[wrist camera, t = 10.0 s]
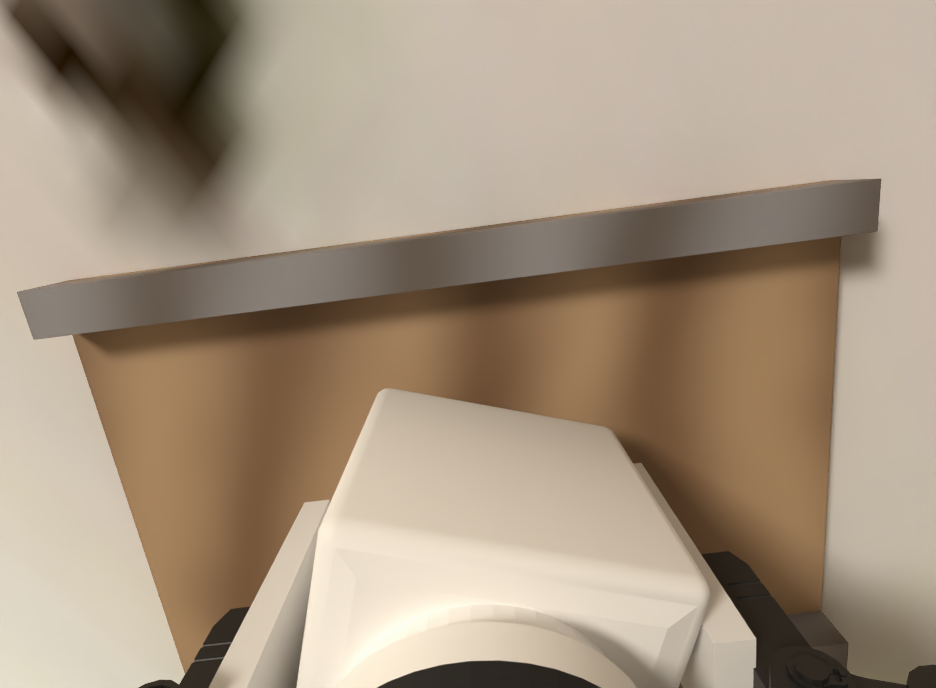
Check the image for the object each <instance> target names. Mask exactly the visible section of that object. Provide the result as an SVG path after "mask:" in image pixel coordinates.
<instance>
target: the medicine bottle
mask: <svg viewBox="0 0 936 688" xmlns="http://www.w3.org/2000/svg"><path fill="white" fill-rule="evenodd" d="M710 601H711V591H710V586H709V584H708V582H707V581H706V579H705V577H704V576H703V574H702V573H701V571H700V569H699V568H698V566H697V565H696V563H695V561H694V560H693V558H692V557H691V555H690V553H689V552H688V550H687V549H686V547H685V545H684V544H683V542H682V541H681V539H680V537H679V536H678V534H677V533H676V531H675V529H674V528H673V526H672V525H671V523H670V522H669V520H668V518H667V517H666V515H665V514H664V512H663V510H662V509H661V507H660V506H659V504H658V502H657V501H656V499H655V498H654V496H653V494H652V493H651V491H650V490H649V488H648V486H647V485H646V483H645V482H644V480H643V478H642V477H641V475H640V474H639V472H638V470H637V469H636V467H635V466H634V464H633V463H632V461H631V459H630V458H629V456H628V455H627V453H626V451H625V450H624V448H623V447H622V445H621V443H620V442H619V440H618V439H617V437H616V435H615V434H614V432H613V431H612V430H611V429H609V428H607V427H604V426H599V425H593V424H588V423H582V422H577V421H571V420H566V419H560V418H554V417H549V416H543V415H538V414H532V413H527V412H521V411H515V410H510V409H504V408H499V407H493V406H488V405H482V404H476V403H471V402H465V401H460V400H454V399H448V398H443V397H437V396H432V395H426V394H421V393H415V392H409V391H404V390H398V389H393V388H386V389H383V390H382V391H380V392H379V393H378V394H377V396H376V398H375V401H374V403H373V405H372V408H371V410H370V412H369V414H368V417H367V419H366V421H365V424H364V426H363V428H362V431H361V433H360V435H359V438H358V440H357V442H356V445H355V447H354V449H353V451H352V454H351V456H350V458H349V461H348V463H347V465H346V468H345V470H344V472H343V475H342V477H341V479H340V481H339V484H338V486H337V488H336V491H335V493H334V495H333V498H332V500H331V502H330V505H329V507H328V509H327V511H326V514H325V516H324V518H323V521H322V523H321V525H320V528H319V530H318V537H317V544H316V551H315V558H314V565H313V572H312V580H311V587H310V594H309V601H308V608H307V615H306V622H305V630H304V637H303V644H302V651H301V658H300V665H299V673H298V680H297V687H296V688H679V685H680V682H681V680H682V677H683V674H684V671H685V669H686V666H687V663H688V661H689V658H690V655H691V652H692V650H693V647H694V644H695V642H696V639H697V636H698V633H699V631H700V628H701V625H702V623H703V620H704V617H705V615H706V612H707V609H708V606H709V604H710Z"/></svg>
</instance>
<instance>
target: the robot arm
mask: <svg viewBox="0 0 936 688" xmlns="http://www.w3.org/2000/svg"><path fill="white" fill-rule="evenodd" d="M634 466H635V467H636V469H637V470H638V472H639V474H640V475H641V477H642V478H643V480H644V482H645V483H646V485H647V486H648V488H649V490H650V491H651V493H652V494H653V496H654V498H655V499H656V501H657V502H658V504H659V506H660V507H661V509H662V510H663V512H664V514H665V515H666V517H667V518H668V520H669V522H670V523H671V525H672V526H673V528H674V529H675V531H676V533H677V534H678V536H679V537H680V539H681V541H682V542H683V544H684V545H685V547H686V549H687V550H688V552H689V553H690V555H691V557H692V558H693V560H694V561H695V563H696V565H697V566H698V568H699V569H700V571H701V573H702V574H703V576H704V577H705V579H706V581H707V582H708V584H709V586H710V591H711V601H710V604H709V606H708V609H707V612H706V615H705V617H704V620H703V623H702V625H701V628H700V631H699V633H698V636H697V639H696V642H695V644H694V647H693V650H692V652H691V655H690V658H689V661H688V663H687V666H686V669H685V671H684V674H683V677H682V680H681V685H682V687H683V688H936V665H926V666H918V667H917V668H915V669H914V670H912V671H911V672H909V676H908V680H907V685H904V684H897V683H891V682H885V681H879V680H873V679H867V678H863V677H859V676H855V675H852V674H850V672H849V671H848V670H847V669H846V668H845V667H844V666H843V665H842V664H841V663H840V662H839V661H837V660H836V659H834V658H832V657H831V656H829V655H827V654H826V653H824V652H822V651H819V650H816V649H813V648H812V647H811V646H810V645H809V644H808V642H807V641H806V640H805V638H804V637H803V636H802V634H801V633H800V632H799V631H798V629H797V628H796V627H795V625H794V624H793V623H792V621H791V620H790V619H789V617H788V616H787V615H786V613H785V612H784V611H783V610H782V608H781V607H780V606H779V604H778V603H777V602H776V600H775V599H774V598H773V597H771V595H770V593H769V591H768V590H767V589H766V587H765V586H764V585H763V584H761V582H760V579H759V578H758V577H757V575H756V574H755V573H754V572H753V570H752V569H751V568H750V566H749V565H748V564H747V563H745V562H744V561H743V560H741V559H740V558H738V557H737V556H735V555H734V554H732V553H731V552H729V551H724V552H715V553H707V554H700V552H699V550H698V549H697V547H696V546H695V544H694V543H693V541H692V540H691V538H690V537H689V535H688V534H687V532H686V531H685V529H684V528H683V526H682V524H681V523H680V521H679V520H678V518H677V517H676V515H675V514H674V512H673V511H672V509H671V508H670V506H669V505H668V503H667V501H666V500H665V498H664V497H663V495H662V494H661V492H660V491H659V489H658V488H657V486H656V485H655V483H654V482H653V480H652V479H651V477H650V475H649V474H648V472H647V471H646V469H645V468H644V466H643V465H642V463H635V464H634ZM329 505H330V500H322V501H313V502H305V503H304V504H303V506H302V508H301V510H300V512H299V514H298V516H297V518H296V520H295V522H294V524H293V525H292V527H291V529H290V531H289V533H288V535H287V537H286V539H285V541H284V543H283V545H282V547H281V549H280V551H279V553H278V554H277V556H276V558H275V560H274V562H273V564H272V566H271V568H270V570H269V572H268V574H267V576H266V578H265V580H264V582H263V584H262V585H261V587H260V589H259V591H258V593H257V595H256V597H255V599H254V601H253V603H252V605H251V607H242V608H234V609H230V610H229V611H228V612H227V613H226V614H225V615H224V616H223V617H222V618H221V619H220V620H219V621H218V622H217V623H216V624H215V625H214V626H213V627H212V629H211V631H210V633H209V634H208V636H207V638H206V640H205V641H204V643H203V647H202V648H200V650H199V652H198V653H197V655H196V657H195V659H194V663H192V664H191V665H190V667H189V669H188V671H187V672H186V674H185V676H184V678H183V679H182V681H181V683H180V684H177V683H175V682H174V681H172V680H158V681H154V682H151V683H147V684H145V685H143V686H141V687H139V688H296V687H297V680H298V673H299V665H300V658H301V651H302V644H303V637H304V630H305V622H306V615H307V608H308V601H309V594H310V587H311V580H312V572H313V565H314V558H315V551H316V544H317V537H318V530H319V528H320V525H321V523H322V521H323V518H324V516H325V514H326V511H327V509H328V507H329Z"/></svg>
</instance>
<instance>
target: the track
mask: <svg viewBox="0 0 936 688" xmlns="http://www.w3.org/2000/svg"><path fill="white" fill-rule="evenodd" d="M880 188H881V179H861V180H831V181H823V182H815V183H808V184H800V185H792V186H785V187H777V188H770V189H762V190H754V191H747V192H739V193H732V194H724V195H716V196H709V197H701V198H694V199H686V200H678V201H671V202H663V203H655V204H648V205H640V206H633V207H625V208H617V209H610V210H602V211H595V212H587V213H579V214H572V215H564V216H556V217H549V218H541V219H534V220H526V221H518V222H511V223H503V224H496V225H488V226H480V227H473V228H465V229H457V230H450V231H442V232H435V233H427V234H419V235H412V236H404V237H397V238H389V239H381V240H374V241H366V242H358V243H351V244H343V245H336V246H328V247H320V248H313V249H305V250H298V251H290V252H282V253H275V254H267V255H260V256H252V257H244V258H237V259H229V260H221V261H214V262H206V263H199V264H191V265H183V266H176V267H168V268H161V269H153V270H145V271H138V272H130V273H122V274H115V275H107V276H100V277H92V278H84V279H77V280H69V281H65V282H60V283H56V284H51V285H47V286H42V287H38V288H33V289H29V290H24V291H20V292H17V294H18V297H19V299H20V302H21V305H22V308H23V311H24V314H25V316H26V319H27V322H28V325H29V328H30V331H31V333H32V336H33V339H34V340H35V339H43V338H51V337H59V336H67V335H73V338H74V341H75V344H76V347H77V350H78V353H79V356H80V359H81V362H82V365H83V368H84V371H85V374H86V377H87V380H88V383H89V386H90V389H91V392H92V395H93V398H94V401H95V404H96V407H97V410H98V413H99V416H100V419H101V422H102V425H103V428H104V431H105V434H106V437H107V440H108V443H109V446H110V449H111V452H112V456H113V459H114V462H115V465H116V468H117V471H118V474H119V477H120V480H121V483H122V486H123V489H124V492H125V495H126V498H127V501H128V504H129V507H130V510H131V513H132V516H133V519H134V522H135V525H136V528H137V531H138V534H139V537H140V540H141V543H142V546H143V549H144V552H145V555H146V558H147V561H148V564H149V567H150V570H151V573H152V576H153V579H154V582H155V585H156V588H157V591H158V594H159V597H160V600H161V603H162V606H163V609H164V612H165V615H166V618H167V621H168V624H169V627H170V630H171V633H172V636H173V639H174V642H175V645H176V648H177V651H178V654H179V657H180V660H181V663H182V666H183V669H184V672H185V674H186V672H187V671H188V669H189V667H190V665H191V664H192V663H194V659H195V657H196V655H197V653H198V652H199V650H200V648H202V647H203V643H204V641H205V640H206V638H207V636H208V634H209V633H210V631H211V629H212V627H213V626H214V625H215V624H216V623H217V622H218V621H219V620H220V619H221V618H222V617H223V616H224V615H225V614H226V613H227V612H228V611H229V610H230V609H234V608H242V607H251V605H252V603H253V601H254V599H255V597H256V595H257V593H258V591H259V589H260V587H261V585H262V584H263V582H264V580H265V578H266V576H267V574H268V572H269V570H270V568H271V566H272V564H273V562H274V560H275V558H276V556H277V554H278V553H279V551H280V549H281V547H282V545H283V543H284V541H285V539H286V537H287V535H288V533H289V531H290V529H291V527H292V525H293V524H294V522H295V520H296V518H297V516H298V514H299V512H300V510H301V508H302V506H303V504H304V503H305V502H313V501H322V500H330V502H331V500H332V498H333V495H334V493H335V491H336V488H337V486H338V484H339V481H340V479H341V477H342V475H343V472H344V470H345V468H346V465H347V463H348V461H349V458H350V456H351V454H352V451H353V449H354V447H355V445H356V442H357V440H358V438H359V435H360V433H361V431H362V428H363V426H364V424H365V421H366V419H367V417H368V414H369V412H370V410H371V408H372V405H373V403H374V401H375V398H376V396H377V394H378V393H379V392H380V391H382V390H383V389H386V388H393V389H398V390H404V391H409V392H415V393H421V394H426V395H432V396H437V397H443V398H448V399H454V400H460V401H465V402H471V403H476V404H482V405H488V406H493V407H499V408H504V409H510V410H515V411H521V412H527V413H532V414H538V415H543V416H549V417H554V418H560V419H566V420H571V421H577V422H582V423H588V424H593V425H599V426H604V427H607V428H609V429H611V430H612V431H613V432H614V434H615V435H616V437H617V439H618V440H619V442H620V443H621V445H622V447H623V448H624V450H625V451H626V453H627V455H628V456H629V458H630V459H631V461H632V463H633V464H635V463H642V465H643V466H644V468H645V469H646V471H647V472H648V474H649V475H650V477H651V479H652V480H653V482H654V483H655V485H656V486H657V488H658V489H659V491H660V492H661V494H662V495H663V497H664V498H665V500H666V501H667V503H668V505H669V506H670V508H671V509H672V511H673V512H674V514H675V515H676V517H677V518H678V520H679V521H680V523H681V524H682V526H683V528H684V529H685V531H686V532H687V534H688V535H689V537H690V538H691V540H692V541H693V543H694V544H695V546H696V547H697V549H698V550H699V552H700V554H707V553H715V552H724V551H729V552H731V553H732V554H734V555H735V556H737V557H738V558H740V559H741V560H743V561H744V562H745V563H747V564H748V565H749V566H750V568H751V569H752V570H753V572H754V573H755V574H756V575H757V577H758V578H759V579H760V582H761V584H763V585H764V586H765V587H766V589H767V590H768V591H769V593H770V595H771V597H773V598H774V599H775V600H776V602H777V603H778V604H779V606H780V607H781V608H782V610H783V611H784V612H785V613H786V615H787V616H788V617H789V619H790V620H791V621H792V623H793V624H794V625H795V627H796V628H797V629H798V631H799V632H800V633H801V634H802V636H803V637H804V638H805V640H806V641H807V642H808V644H809V645H810V646H811V647H812V648H813V649H816V650H819V651H822V652H824V653H826V654H827V655H829V656H831V657H832V658H834V659H836V660H837V661H839V662H840V663H841V664H842V665H843V666H844V667H845V668H846V669H847V657H848V642H847V641H846V640H845V639H844V638H843V636H842V635H841V634H840V633H839V632H838V630H837V629H836V628H835V627H834V626H833V625H832V623H831V622H830V621H829V620H828V619H827V618H826V616H825V615H824V614H823V613H822V612H821V603H822V584H823V565H824V546H825V528H826V509H827V490H828V471H829V452H830V433H831V414H832V395H833V377H834V358H835V339H836V320H837V301H838V282H839V263H840V245H841V236H846V235H854V234H862V233H869V232H877V230H878V216H879V202H880ZM679 688H683V687H682V685H681V682H680V685H679Z"/></svg>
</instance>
